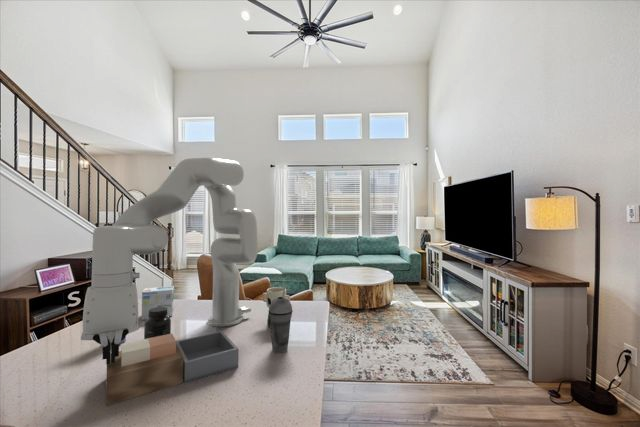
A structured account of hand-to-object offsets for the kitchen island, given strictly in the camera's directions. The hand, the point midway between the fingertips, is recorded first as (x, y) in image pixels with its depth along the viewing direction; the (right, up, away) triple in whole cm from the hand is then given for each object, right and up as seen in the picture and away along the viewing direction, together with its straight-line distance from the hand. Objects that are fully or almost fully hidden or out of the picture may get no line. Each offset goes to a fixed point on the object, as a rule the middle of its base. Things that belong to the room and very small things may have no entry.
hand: (110, 360), depth 65 cm
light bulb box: (-16, -7, +48) cm, 51 cm away
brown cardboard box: (+5, -7, +4) cm, 9 cm away
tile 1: (+4, -1, +3) cm, 5 cm away
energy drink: (-16, -7, +23) cm, 29 cm away
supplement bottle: (0, -7, +20) cm, 21 cm away
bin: (+17, -7, +12) cm, 22 cm away
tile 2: (+8, -1, +6) cm, 10 cm away
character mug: (+31, -8, +40) cm, 52 cm away
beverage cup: (+36, -8, +21) cm, 42 cm away
